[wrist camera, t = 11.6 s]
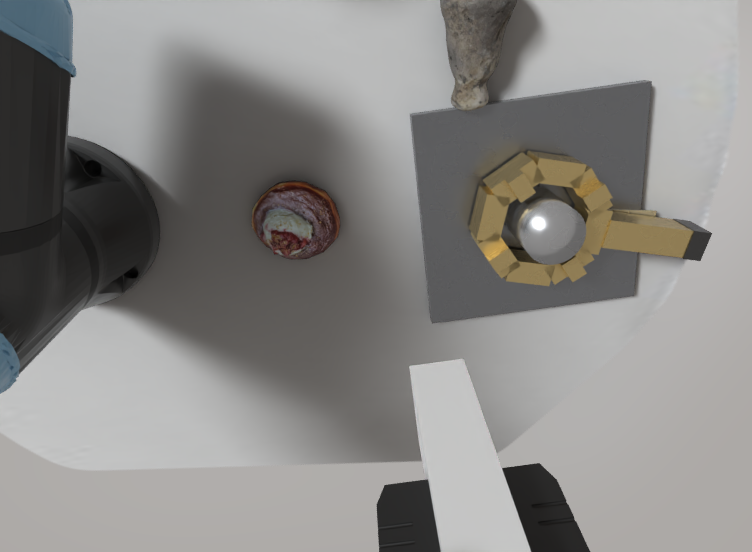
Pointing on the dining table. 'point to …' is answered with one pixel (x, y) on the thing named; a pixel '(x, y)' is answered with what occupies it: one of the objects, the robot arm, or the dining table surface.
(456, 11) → the stone
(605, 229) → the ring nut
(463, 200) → the base plate
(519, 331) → the dining table surface
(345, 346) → the dining table surface
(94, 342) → the dining table surface
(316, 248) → the pastry
